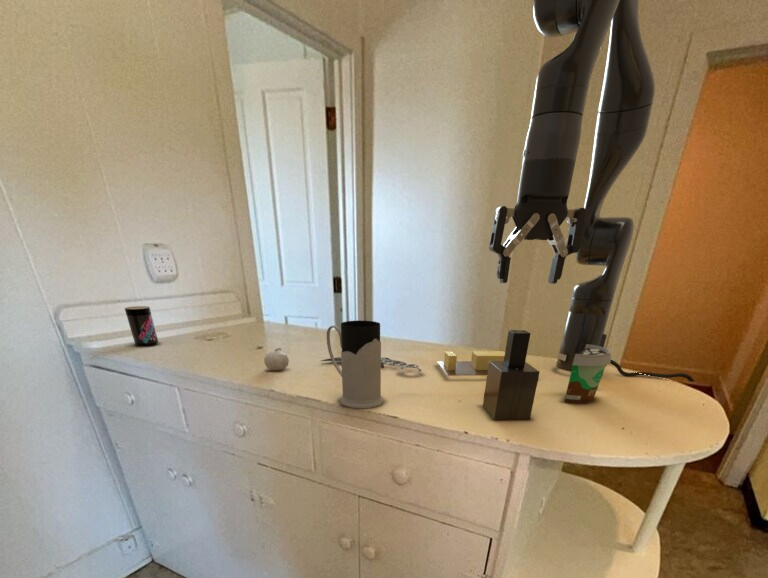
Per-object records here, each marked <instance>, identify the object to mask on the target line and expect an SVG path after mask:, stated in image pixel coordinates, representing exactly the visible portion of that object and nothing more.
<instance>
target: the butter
mask: <svg viewBox="0 0 768 578" xmlns="http://www.w3.org/2000/svg"><path fill="white" fill-rule="evenodd" d="M504 356H505V350H498V351H497V350H496V351H495V350H494V351H493V350H488V351H486V350H484V351H483V350H481V351H480V350H479V351H477V350H476V351H475V350H472V352H471V359H470V361H471V366H472V367H473V368H474V369H475V370H488V366H489V361H504Z"/></svg>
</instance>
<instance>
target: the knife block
mask: <svg viewBox="0 0 768 578" xmlns="http://www.w3.org/2000/svg"><path fill="white" fill-rule="evenodd" d="M503 362H504V361H489V366H488V373H487V375H486V381H485V388H484V395H483V401H482V407H483V408H484V410H485V411H486V412H487V414H488V415H489V416H490V417H491V418H492V420H493V421H514V420H515V421H522V420H523V421H524V420H525V421H527V420H528V421H529V420H531V416H532V412H533V406H534V402H535V397H536V391H537V387H538V382H539V378H540V373H541V372H540V370H538V369H537V368H535V367H533V365H531V364H530V363H528V362H526V361H525V366H524V368H517V369H518V370H515V369H513V368H507V367H506V366H505V365H504V364H503Z"/></svg>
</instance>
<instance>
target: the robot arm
mask: <svg viewBox="0 0 768 578" xmlns="http://www.w3.org/2000/svg"><path fill="white" fill-rule="evenodd" d="M639 2H640V1H639V0H533V1H532V13H533V20H534V24H535V26H536V28H537V30H538V31H539V33H540V34H541V35H542V36H544V37H546V38H551V39H552V38H558V37H562V36H563V37H564V36H565V35H570V34H571V35H572V34H574V37H573V39H572V40H571V42H570V44H569V45H568V46H567V47H565V49H564V50H563V51H561V52H560V53H558V54H556V55H555V56H553V57H551V58H550V59H548V60H546V61H545V62H544V63H543V64H542V65H541V66H540V68H539V71H538V72H537V76H536V82H535V87H534V88H535V89H534V94H533V101H532V108H531V115H530V122H529V125H528V130H527V133H526V138H525V143H524V149H523V151H522V164H521V169H520V170H521V171H520V177H519V185H518V192H517V197H516V204H515V206H514V208H511V207H508V206H506V205H501V206H497V207H496V208H495V210H494V215H493V220H492V221H493V222H492V228H491V233H490V238H489V244H488V251H490V252H493V253H494V254H497V256H498V261H497V262H498V263H497V271H496V277H497V279H498V280H499V283H501V284H508V280H509V275H510V274H509V272H510V266H511V260H512V257H511V254H512V253H513V252H514V250H515V249H516V248H517V246H519V245H520V244H521V243H522V241H534V240H536V241H547V242H548V245H550V247H551V249H552V252H553V254H554V257H552V258H551V264H550V269H549V274H548V278H547V282H548V283H549V284H554V285H555V284H556V285H557V283H558V280H560V279H561V278H562V275H563V271H564V265H565V260H566V258H567V257H568V256H569V255H572V254H575V261H576V263H577V264H578V265H580V266H581V265H582V266H594V267H595V266H597V267H605V268H604V270H603V272H601V274H599V275H597V276H596V277H594V278H592V279H590V280H586V281H583V282H580V283H577V284H575V285H574V287H573V290H572V293H571V298H570V304H569V308H568V312H567V317H566V320H565V325H564V329H563V334H562V339H561V342H560V346H559V347H560V348H559V352H558V356H557V360H556V367H555V368H558V369H560V370H563V371H568V372H571V371H572V366H573V365H572V364H573V361H574V357H575V354H580V352H581V351H584V350H585V347H586V344H588V345H595V346H600V347H604V348H605V343H606V340H607V338H608V337H607V336H608V335H607V334H606V333H605V331H606V327H607V323H608V319H609V316H610V313H611V309H612V305H613V301H614V298H615V295H616V291H617V287H618V284H619V280H620V278H621V277H620V276H621V274H622V271H623V270H622V269H623V267H624V263H625V260H626V258H627V255H628V251H629V249H630V245H631V242H632V239H633V235H634V229H635V225H634V224H635V223H634V220H633V219H632V218H631V217H628V216H626V217H624V216H623V217H622V216H619V217H618V216H615V217H614V216H613V217H612V216H611V217H610V216H609V217H608V216H607V217H601V211H602V208H603V205H604V202H605V199H606V197H607V195H608V194H609V192H610V191H611V188H612V187H613V185H614V183H615V182H616V181H617V179H618V178H619V176H621V174H622V172H623V171H624V169H625V168H626V167H627V166H628V164H629V163H630V161H631V160H632V159H633V158H634V156H635V154H636V153H637V151H638V150H639V148H640V147H641V146H642V143H643V141H644V140H645V138H646V135H647V132H648V127H649V124H650V117H651V114H652V108H653V103H654V99H655V93H656V84H655V83H656V82H655V77H654V72H653V69H652V66H651V63H650V62H651V61H650V60H649V57H648V54H647V51H646V48H645V45H644V41H643V39H642V33H641V28H640V21H639V20H640V19H639ZM609 28H610V29H609ZM608 31H609V36H608V37H609V39H608V46H607V52H606V53H607V54H606V60H605V68H604V74H603V82H602V85H601V86H602V87H601V92H600V98H599V103H598V109H597V117H596V122H595V129H594V136H593V144H592V145H593V147H592V155H591V161H590V169H589V176H588V182H587V189H586V194H585V199H584V205H583V207H576V208H573V209H572V208H570V209H568V199H569V196H570V192H571V186H572V181H573V176H574V171H575V167H576V162H577V161H576V160H577V157H578V151H579V147H580V141H581V134H582V133H581V132H582V123H583V117H584V111H585V106H586V101H587V96H588V90H589V86H590V81H591V77H592V74H593V71H594V69H595V65H596V62H597V60H598V57H599V55H600V51H601V48H602V46H603V44H604V41H605V38H606V36H607V33H608ZM511 218H512V220H513V223H514V225H515V228H514V229H513V230H512V232H511V233H510V234H509V236H508V237H507V239H506V241H505V242H504V243H503V242H502V241H503V236H504V231H505V227H506V226H505V225H507V224H508V223H509V222H510V219H511ZM565 220H566V221H567V222H566V223H567V225H568V232H567V238H566V239H567V240H566V242H565V237H564V234H563V233H562V230H561V225H562V224H563V223H564V222H565ZM502 243H503V245H502ZM548 283H547V284H548ZM610 364H611V366H614V367H615V368H616V370H617V371H618V372H619V374H620V375H622V376H624V377H635V376H636V377H637V376H646V377H652V378H653V377H654V378H662V379H668V378H670V379H671V378H685V379H686V380H688V381H689V382H692V383H695V379H694V378H693V377H692V376H691V375H690V374H687V373H684V372H677V373H658V372H657V373H655V372H649V371H633V372H627V371H624V370H623V368H622V367H621V365H620V364H619V363H618V362H617V361H615V360H613V359H611V362H610ZM610 364H609V365H610ZM605 367H607V365H606V366H605ZM634 372H635V373H634ZM636 372H637V373H636ZM639 373H642V374H639ZM644 374H646V375H644ZM648 375H650V376H648Z"/></svg>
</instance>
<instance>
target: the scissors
mask: <svg viewBox="0 0 768 578" xmlns="http://www.w3.org/2000/svg"><path fill="white" fill-rule="evenodd" d="M334 359H335V361H336V362H341V356H340V357H339V356H338V357H337V356H336V357H334ZM320 362H332V360H331V358H325V359H322V360H320ZM385 365H387V366H393V367H400V368H399V370H401V371H403V369H408V368H409V369H411V368H412V369H416V370H417V372H422V370H423V369H421V368H420V367H419V365H417V364H414V363H408V362H404V361H399V360H395V359H391V358H390V357H385V356H384V357H382V356H381V368H385Z"/></svg>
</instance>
